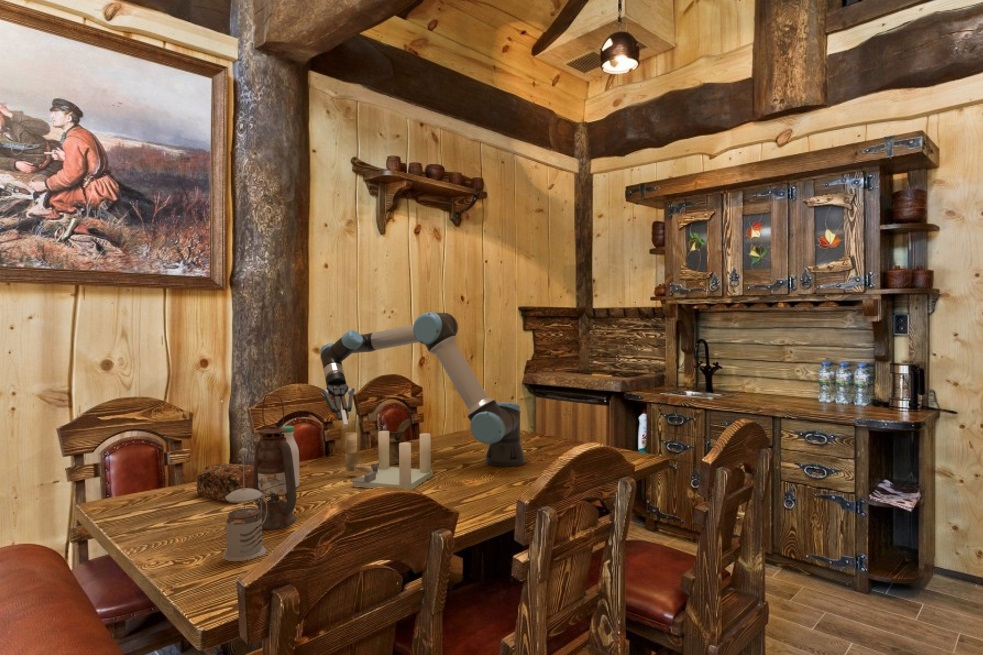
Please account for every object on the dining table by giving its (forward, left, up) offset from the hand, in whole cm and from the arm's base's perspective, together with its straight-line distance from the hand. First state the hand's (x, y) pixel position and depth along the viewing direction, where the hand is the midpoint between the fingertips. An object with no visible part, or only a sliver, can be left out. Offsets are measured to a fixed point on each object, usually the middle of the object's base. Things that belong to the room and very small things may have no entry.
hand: (345, 426), depth 219 cm
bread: (+17, +41, -16) cm, 47 cm away
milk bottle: (+5, +27, -16) cm, 32 cm away
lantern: (-12, +57, -16) cm, 61 cm away
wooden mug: (-15, -12, -16) cm, 24 cm away
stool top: (-26, +11, -16) cm, 32 cm away
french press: (-20, +76, -16) cm, 80 cm away
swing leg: (-13, +10, -13) cm, 21 cm away
